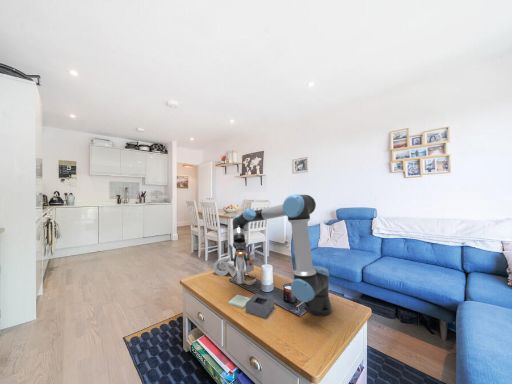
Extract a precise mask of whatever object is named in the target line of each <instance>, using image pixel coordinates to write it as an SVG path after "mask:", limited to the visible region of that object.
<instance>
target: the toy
mask: <svg viewBox="0 0 512 384" xmlns="http://www.w3.org/2000/svg"><path fill="white" fill-rule="evenodd" d="M245 251H246V257H247V250H245ZM254 265H255V253H254V252H252V251H250V259H249V261H247V266H246V272H245V274H246V273H247V274H248V273H249V272H250V273H251V272H253V271H254V270H255V269H254V267H255V266H254Z"/></svg>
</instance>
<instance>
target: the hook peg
mask: <svg viewBox="0 0 512 384" xmlns="http://www.w3.org/2000/svg"><path fill="white" fill-rule="evenodd" d="M235 251H236V250H235ZM235 251H234V255H235V254H236V255H237V257H236V260H237V264H238V273H237V274H236V284H239V285H241V284H244V281H245V280H244V277H245V273H244V255H246V251H247V250H244V251H243V250H238V251H236V252H235Z"/></svg>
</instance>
